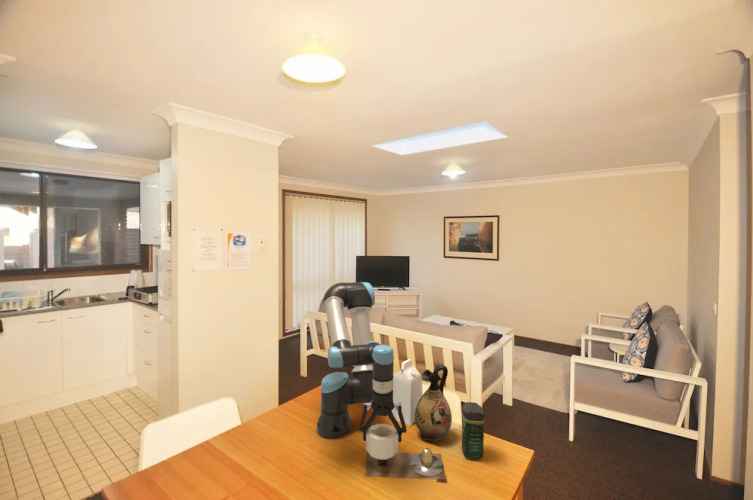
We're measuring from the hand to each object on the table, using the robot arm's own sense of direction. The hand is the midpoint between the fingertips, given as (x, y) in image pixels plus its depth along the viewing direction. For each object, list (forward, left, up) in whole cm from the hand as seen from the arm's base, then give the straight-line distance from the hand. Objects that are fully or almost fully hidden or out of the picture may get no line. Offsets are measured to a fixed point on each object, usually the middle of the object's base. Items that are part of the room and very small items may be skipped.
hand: (382, 449), depth 125 cm
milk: (-8, +37, -6) cm, 38 cm away
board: (+7, +4, -6) cm, 10 cm away
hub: (+14, +7, -6) cm, 17 cm away
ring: (0, 0, 0) cm, 0 cm away
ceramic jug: (+9, +29, -6) cm, 31 cm away
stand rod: (0, 0, -6) cm, 6 cm away
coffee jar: (+26, +25, -6) cm, 37 cm away
